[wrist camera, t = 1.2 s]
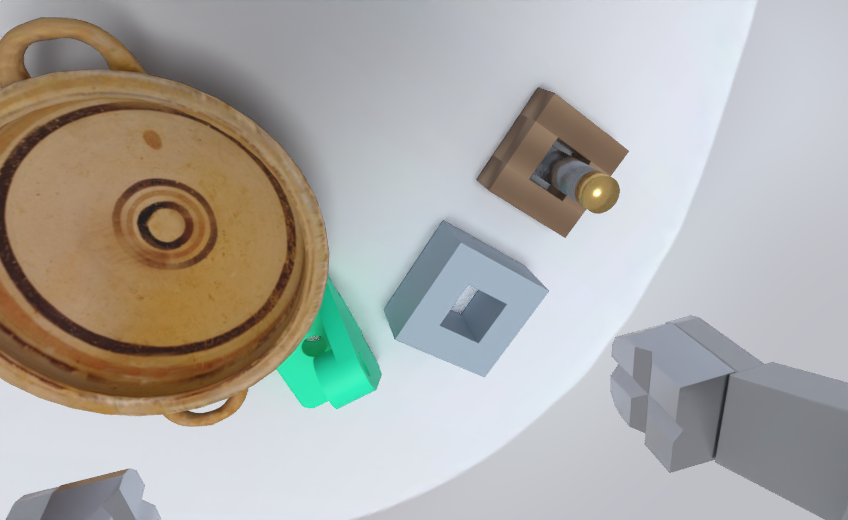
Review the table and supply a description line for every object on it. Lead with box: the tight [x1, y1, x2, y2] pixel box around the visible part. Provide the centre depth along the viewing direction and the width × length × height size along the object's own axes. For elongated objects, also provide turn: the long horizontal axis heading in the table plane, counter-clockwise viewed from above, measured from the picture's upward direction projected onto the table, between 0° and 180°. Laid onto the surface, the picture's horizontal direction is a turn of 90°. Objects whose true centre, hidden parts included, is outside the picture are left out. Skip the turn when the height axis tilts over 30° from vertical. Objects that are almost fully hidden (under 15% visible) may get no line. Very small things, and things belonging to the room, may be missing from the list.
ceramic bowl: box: [0, 18, 329, 427], centre depth 38 cm, size 30×24×8 cm
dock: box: [384, 220, 549, 377], centre depth 49 cm, size 10×10×5 cm
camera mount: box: [277, 276, 382, 409], centre depth 45 cm, size 12×8×10 cm, turn 22°
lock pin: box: [534, 146, 620, 213], centre depth 44 cm, size 3×3×10 cm
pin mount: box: [477, 88, 629, 238], centre depth 46 cm, size 9×9×3 cm
